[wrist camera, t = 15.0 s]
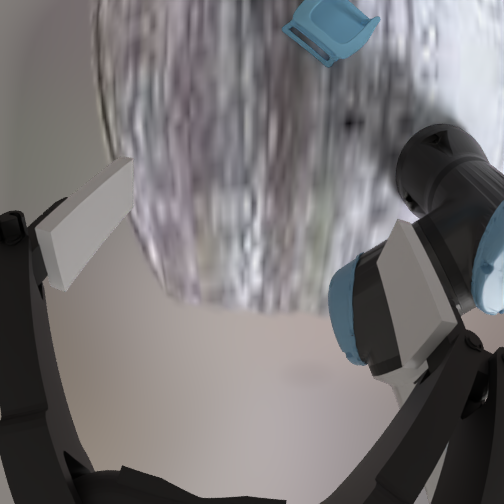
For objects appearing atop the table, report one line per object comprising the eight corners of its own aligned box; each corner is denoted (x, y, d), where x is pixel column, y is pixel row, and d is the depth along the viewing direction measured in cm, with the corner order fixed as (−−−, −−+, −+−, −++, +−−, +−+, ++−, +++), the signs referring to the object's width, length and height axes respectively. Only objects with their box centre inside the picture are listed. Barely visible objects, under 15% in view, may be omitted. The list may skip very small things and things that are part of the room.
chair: (369, 28, 29) (400, 19, 20) (327, 68, 34) (343, 73, 24) (323, -12, 27) (336, -37, 17) (280, 30, 31) (276, 19, 22)
